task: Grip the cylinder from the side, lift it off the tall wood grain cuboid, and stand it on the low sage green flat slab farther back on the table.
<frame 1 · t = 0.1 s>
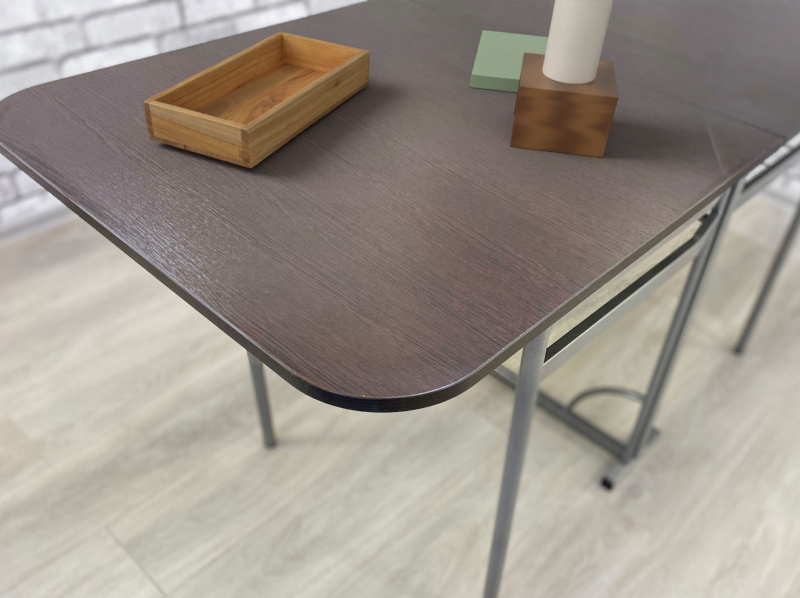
wood grain cuboid: (556, 132, 98), on the table
sage green flat slab: (525, 68, 114), on the table
tray: (268, 115, 98), on the table
cylinder: (568, 73, 92), point 8 cm above the table, touching wood grain cuboid
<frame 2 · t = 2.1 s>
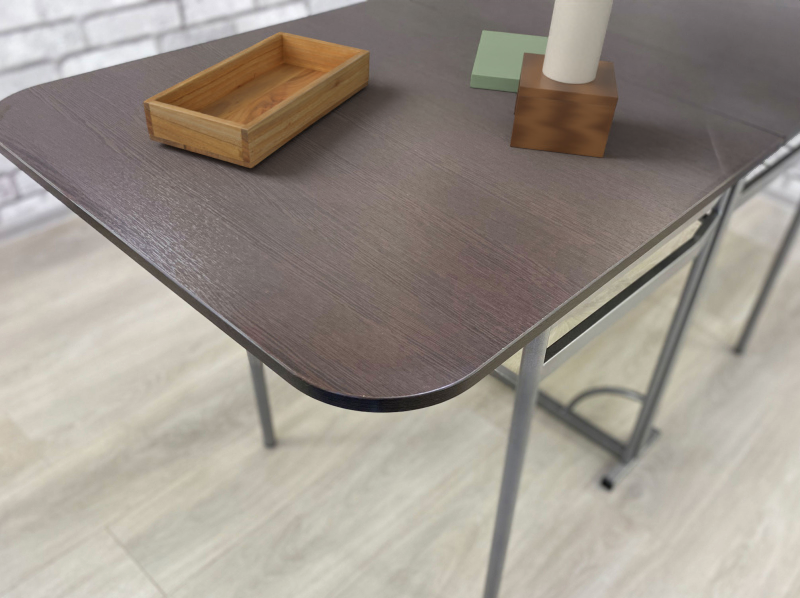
nothing on the table moved.
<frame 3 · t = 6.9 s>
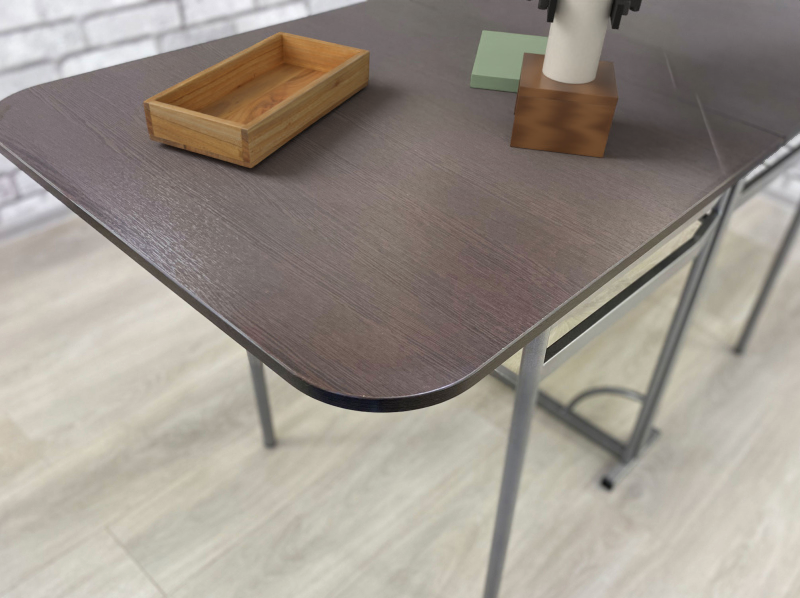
hand: (585, 13, 83), 17 cm above the table, tool horizontal, fingers closed on cylinder, 7 cm apart
cylinder: (568, 73, 92), point 8 cm above the table, touching gripper, wood grain cuboid
everything else where it was.
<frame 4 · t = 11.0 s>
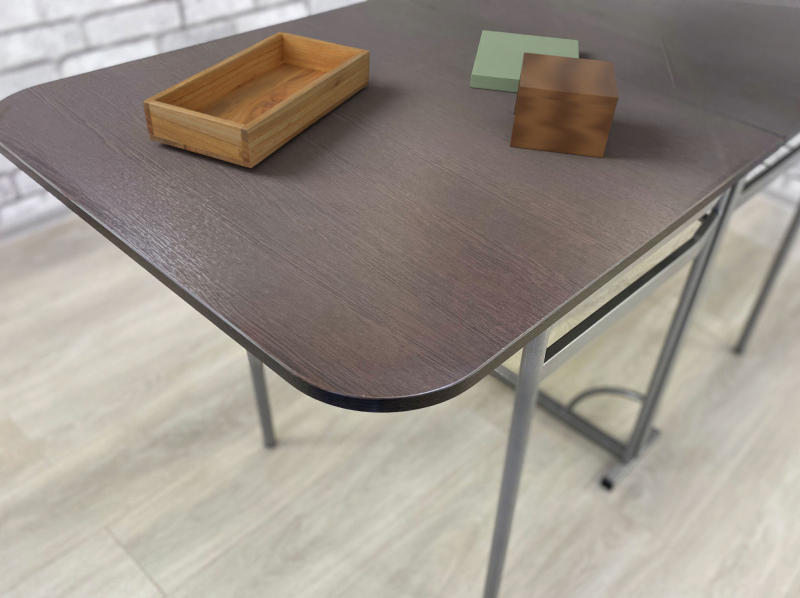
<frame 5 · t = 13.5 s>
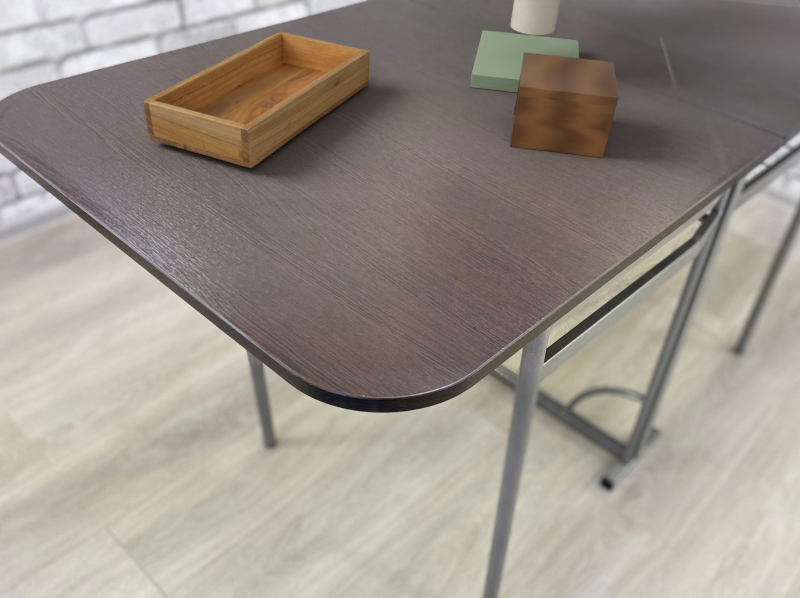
cylinder: (532, 27, 110), point 6 cm above the table, touching gripper
everything else where it was.
when the fingers open (11 cm above the table, at t = 15.2 s): cylinder stays where it is, resting on sage green flat slab.
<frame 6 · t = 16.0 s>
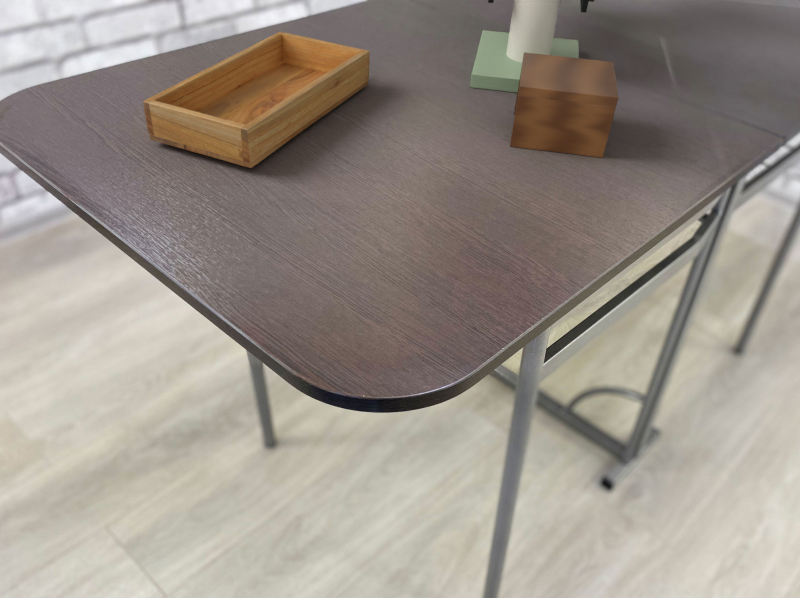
cylinder: (527, 56, 113), point 2 cm above the table, touching sage green flat slab
everything else where it was.
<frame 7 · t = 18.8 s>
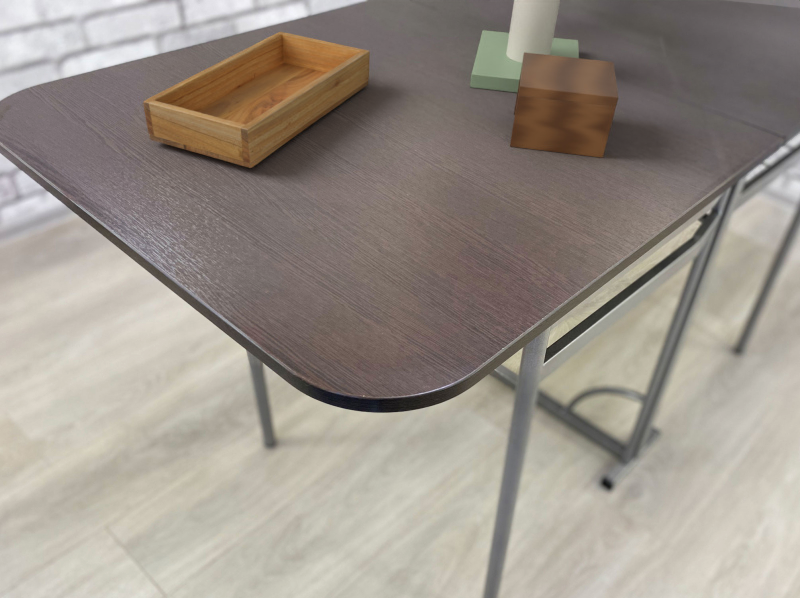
nothing on the table moved.
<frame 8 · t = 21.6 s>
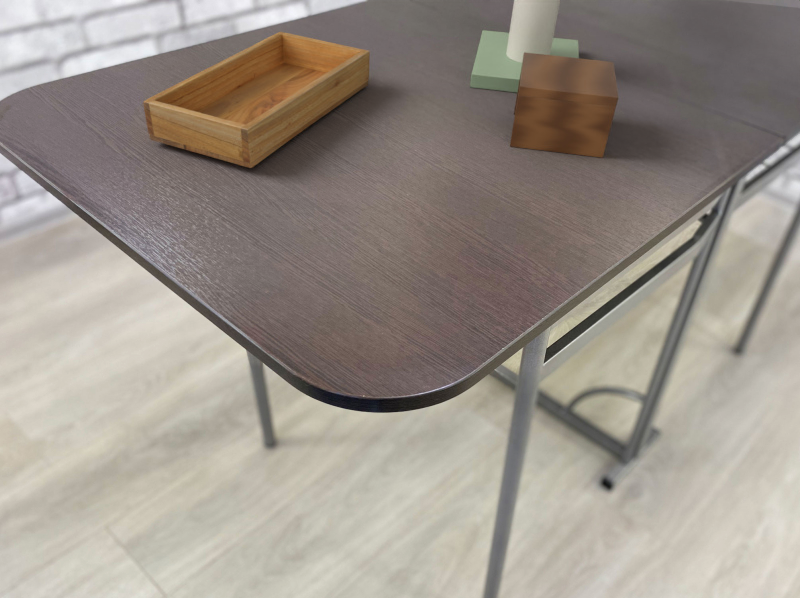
nothing on the table moved.
at the end: cylinder inside the target area on the sage green flat slab (0.0 cm from its centre), point 2.0 cm above the sage green flat slab's base; cylinder tilted 0°; the gripper is holding nothing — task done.
